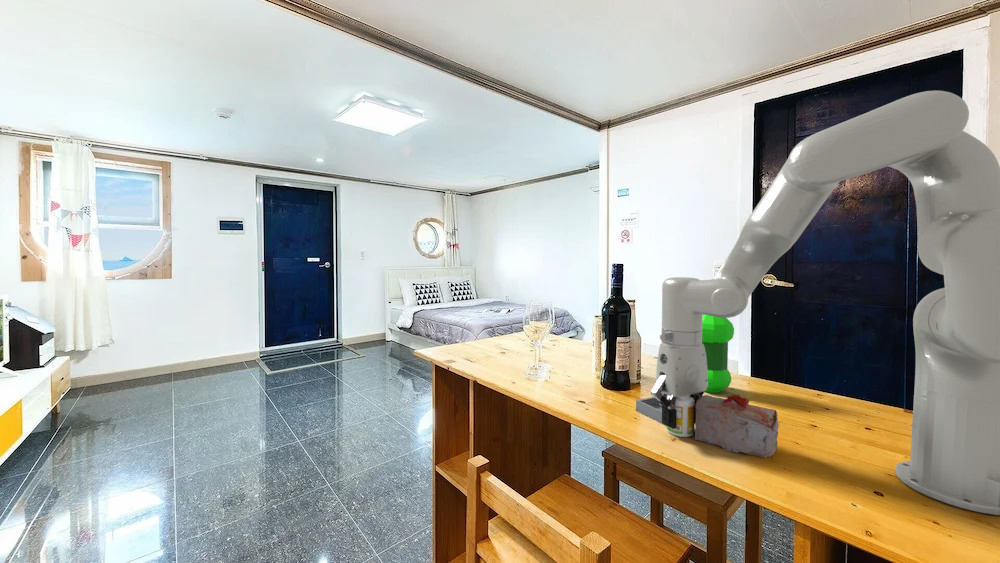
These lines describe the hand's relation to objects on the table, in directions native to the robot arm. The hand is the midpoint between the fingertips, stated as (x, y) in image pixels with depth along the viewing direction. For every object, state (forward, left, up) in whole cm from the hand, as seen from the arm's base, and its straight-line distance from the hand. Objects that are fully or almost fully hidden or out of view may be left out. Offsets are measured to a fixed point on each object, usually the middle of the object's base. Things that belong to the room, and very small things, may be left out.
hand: (679, 422), depth 80 cm
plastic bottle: (+15, -28, -2) cm, 32 cm away
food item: (-9, -5, -2) cm, 10 cm away
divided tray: (+8, -8, -2) cm, 11 cm away
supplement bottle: (0, 0, -2) cm, 2 cm away
